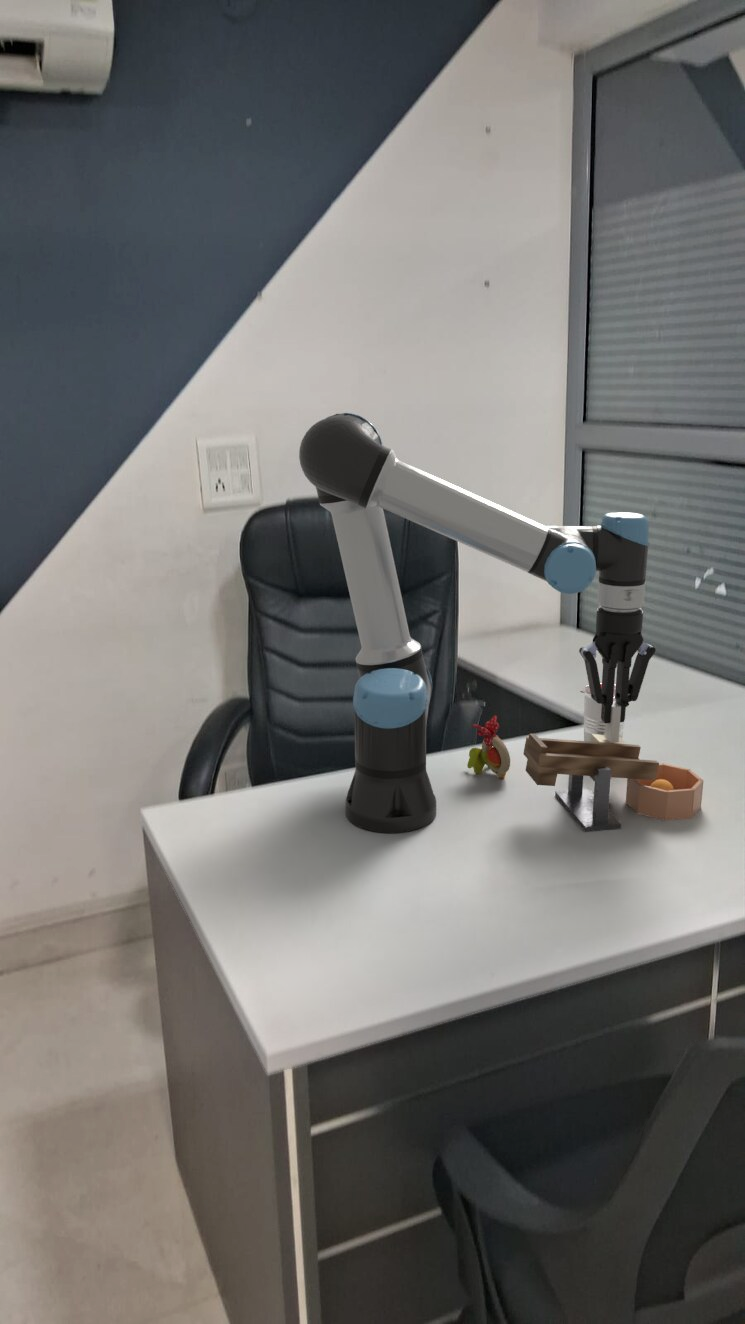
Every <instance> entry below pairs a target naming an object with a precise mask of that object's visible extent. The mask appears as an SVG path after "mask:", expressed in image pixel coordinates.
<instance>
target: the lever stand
mask: <svg viewBox="0 0 745 1324" xmlns="http://www.w3.org/2000/svg"><path fill="white" fill-rule="evenodd" d="M611 779H612V777H611V769H610V768H609V767H608V766H605V767H595V782H593V783H594V786H593V792H592V790H590V788H583V786H584V776H581V775H568V782H567V783H568V784H567V785H568V786H567V790H555V791H554V792H555V794H554V795H555V797H556V799H557V800H559V802H560V803H561V805H562V806H563V807H564V808H565V809H566V810H567V812H568V813H569V814H570V815H571V817H572V818H573V819H574V820H575V821H576V823H577V824H578V825H579V826H580V827H581V829H583V831H584V832H585V833H588V832H589V833H590V832H598V831H599V832H600V831H610V830H617V829H618V830H620V829H622V823H621V822H620V821H619V819H618V818H616V816H615V815H614V814H613V813H612V812H611V811H610V810H609V808H610V806H609V805H610V792H611V790H610V789H611Z"/></svg>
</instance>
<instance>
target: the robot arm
mask: <svg viewBox="0 0 745 1324" xmlns="http://www.w3.org/2000/svg"><path fill="white" fill-rule="evenodd" d="M302 437H303V438H302V439H301V441H300V446H299V452H298V453H299V454H298V459H299V464H300V467H301V468H300V469H302V470H301V471H302V472H303V474H304V476H305V478H306V479H307V480H308V481H309V483H310V484H312V485H313V486H314V487H315V489H316V492H317V497H318V503H319V506H321V507H322V508H323V509H326V510H327V511H328V512H329V513H330V514H331V517H332V523H333V527H334V530H335V531H334V532H335V535H336V541H337V543H338V549H339V553H340V558H341V562H342V567H343V572H344V575H345V580H346V584H347V588H348V589H347V590H348V592H349V597H350V603H351V606H352V610H353V615H354V619H355V624H356V628H357V633H358V637H359V641H360V645H361V649H360V650H359V652H358V653H357V654H356V657H355V663H356V668H357V669H356V670H357V672H358V676H359V678H358V680H357V682H356V683H355V685H354V693H353V697H352V705H353V709H354V760H355V762H354V764H355V769H354V773H353V777H352V778H351V779H352V780H351V782H350V785H349V789H348V791H347V795H346V798H345V816H346V818H347V820H348V821H349V822H350V823H351V824H352V825H354V826H356V827H358V828H361V829H364V830H367V831H371V832H376V833H377V832H378V833H387V834H389V833H394V834H395V833H405V832H411V831H415V830H419V829H420V828H423V827H425V826H427V825H429V824H431V823H432V822H433V821H434V820H435V819H436V816H437V798H436V795H435V794H434V790H433V787H432V784H431V780H430V777H429V774H428V771H427V725H428V724H427V721H428V714H429V707H430V701H431V698H432V694H433V692H432V691H433V681H432V675H431V673H430V670H429V669H428V666H426V662H425V658H424V654H423V650H422V645H421V643H420V642H418V641H417V640H415V639H414V638H412V637H411V634H410V631H409V625H408V621H407V616H406V611H405V607H404V602H403V597H402V592H401V587H400V583H399V578H398V574H397V569H396V564H395V559H394V555H393V554H394V553H393V550H392V546H391V540H390V536H389V530H388V526H387V522H386V516H385V512H384V510H386V511H387V512H390V513H393V514H394V515H397V516H399V517H402V518H404V519H406V520H407V521H410V522H412V523H415V524H417V525H420V526H422V527H424V528H427V529H428V530H431V531H433V532H436V533H438V534H440V535H443V536H445V537H447V538H449V539H451V540H454V541H456V542H458V543H460V544H463V545H465V546H468V547H469V548H472V549H473V550H476V551H478V552H481V553H483V554H485V555H487V556H489V557H492V558H495V559H496V560H499V561H502V562H503V563H505V564H508V565H510V566H512V567H515V568H517V569H520V570H522V571H523V572H526V573H528V574H530V575H532V576H534V577H536V578H538V579H540V580H543V581H545V582H546V583H548V585H549V586H551V588H552V589H555V590H556V591H557V592H558V593H562V594H565V595H572V594H574V595H575V594H577V593H581V592H582V591H585V590H586V589H587V588H588V587H589V586H591V584H592V583H593V581H594V580H595V576H596V573H598V586H597V588H598V590H597V600H596V603H597V605H598V606H597V608H596V617H595V619H596V620H595V634H594V636H593V638H592V642H591V643H590V644H589V645H587V646H586V647H583V646H581V647H580V648H579V650H578V653H579V654H580V655H581V656H582V658H583V660H584V661H583V662H584V664H585V671H586V676H587V681H588V682H587V683H588V685H589V688H590V693H591V697H592V699H593V700H595V701H596V702H597V703H599V704H602V708H601V720H602V721H603V722H604V723H605V736H604V737H605V738H606V739H607V740H608V741H609V742H610V743H614V742H619V730H620V722H624V723H625V721H626V712H625V711H627V707H629V705H630V702H636V701H637V700H638V698H639V695H640V692H641V689H642V685H643V683H644V679H645V676H646V672H647V669H648V666H649V662H650V660H651V659H652V658H653V656H654V654H655V653H656V650H657V649H656V648H655V647H654V646H653V645H651V644H650V643H646V642H645V641H644V637H643V635H642V631H643V620H644V610H643V609H642V607H643V606H644V604H645V595H646V592H645V591H646V575H647V563H648V555H649V554H648V552H649V546H650V542H649V528H650V527H649V519H648V518H647V517H646V515H643V514H641V513H637V512H628V511H627V512H625V511H624V512H623V511H621V512H620V511H619V512H608V513H604V515H603V516H602V517H601V518H602V519H601V522H600V525H591V526H589V525H584V526H583V525H577V526H576V525H552V524H547V525H544V524H542V523H539V522H537V521H535V520H533V519H530V518H528V517H526V516H523V515H522V514H519V513H517V512H516V511H515V512H514V511H513V510H510V509H508V508H506V507H504V506H501V505H500V504H497V503H495V502H492V501H491V500H488V499H486V498H484V497H481V496H479V495H477V494H475V493H472V492H471V491H468V490H466V489H463V488H461V487H460V486H457V485H455V484H452V483H450V482H448V481H446V480H444V479H441V478H440V477H437V476H434V475H433V474H430V473H428V472H426V471H423V470H421V469H419V468H417V467H415V466H413V465H410V464H409V463H408V464H407V463H406V462H403V461H401V460H400V459H398V458H397V456H396V453H395V450H393V449H391V448H389V447H387V446H384V445H383V441H382V438H381V435H380V434H379V432H378V430H377V428H375V427H374V424H372V423H371V422H370V421H369V420H367V419H366V418H364V417H362V416H361V415H358V414H355V413H350V412H343V413H335V414H333V415H329V416H327V417H326V418H323V419H321V420H319V421H317V422H315V423H314V424H313V425H312V426H311V427H309V429H308V430H307V431H306V432H305V434H304V436H302ZM597 652H598V653H599V655H600V657H601V663H602V675H601V680H600V675H599V670H598V664H597V661H596V659H595V658H597ZM636 653H637V654H636ZM634 655H636V657H635V660H634V663H633V665H632V660H633V659H632V658H633V657H634ZM631 667H632V669H631ZM630 670H631V674H630ZM615 678H616V679H615ZM600 683H602V689H601V684H600ZM614 685H616V691H615V700H616V702H615V701H613V696H614ZM624 720H625V721H624Z"/></svg>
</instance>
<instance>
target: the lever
mask: <svg viewBox="0 0 745 1324" xmlns="http://www.w3.org/2000/svg"><path fill="white" fill-rule="evenodd" d="M604 736H605V735H599V734H591V737H590V741H591V742H590V741H584V740H571V739H562V738H561V739H559V738H545V737H539V736H538V735H537V734H536V733H529V735H528V736H527V737H526V738H525V743H524V747H523V748H524V749H523V755H524V756H525V758H526V759H527V761H526V764H525V765H526V766H525V770H524V771H526V773H527V775H528V776H529V777H530V779H532V780H533V781H534V783H535V784H536V785H537V786H547V787H548V786H549V787H555V786H556V784H557V783H556V782H557V777H558V775H565V776H566V775H568V776H569V775H581V776H583V777H584V776H586V777H590V779H592V781H593V783H595V767H605V766H608V767H609V768H610V769H611V778H615V779H627V778H629V779H645V780H655V779H656V775H657V771H658V766H659V764H660V762H659V761H658V760H653V759H651V760H649V759H640V758H639V756H640V753H641V746H640V745H639V744H631V743H630V744H629V743H626V742H625V741H624V740H623V738H622V739H621V738H619V742H614V743H610V742H609V741H608V740H607V739H606V738H605V737H604Z"/></svg>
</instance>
